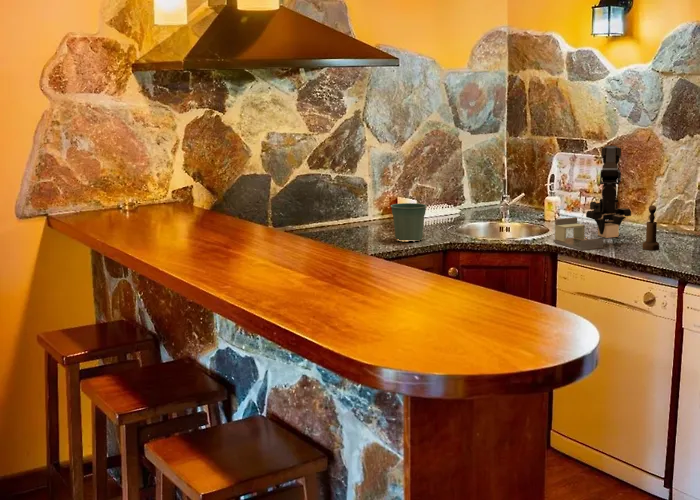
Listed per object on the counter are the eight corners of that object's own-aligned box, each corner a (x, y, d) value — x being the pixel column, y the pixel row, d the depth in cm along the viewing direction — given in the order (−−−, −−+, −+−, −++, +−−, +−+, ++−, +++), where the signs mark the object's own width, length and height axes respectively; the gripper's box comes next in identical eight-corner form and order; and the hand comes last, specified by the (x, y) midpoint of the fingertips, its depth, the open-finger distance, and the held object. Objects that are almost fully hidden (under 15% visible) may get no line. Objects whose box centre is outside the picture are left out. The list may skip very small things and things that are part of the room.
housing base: (575, 240, 359) (575, 230, 358) (603, 248, 340) (603, 237, 339) (553, 242, 356) (553, 232, 355) (580, 250, 337) (580, 240, 336)
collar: (609, 234, 350) (610, 222, 349) (618, 236, 344) (618, 224, 343) (597, 235, 348) (598, 223, 347) (606, 237, 342) (606, 226, 341)
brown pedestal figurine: (639, 247, 339) (641, 204, 336) (654, 246, 340) (656, 204, 336) (646, 250, 333) (648, 206, 329) (662, 250, 333) (664, 206, 330)
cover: (574, 237, 358) (575, 217, 356) (584, 239, 352) (584, 219, 350) (555, 239, 355) (555, 219, 353) (564, 241, 349) (564, 221, 347)
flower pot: (419, 236, 380) (418, 201, 377) (433, 242, 364) (432, 206, 361) (386, 239, 375) (385, 204, 372) (398, 245, 360) (397, 209, 357)
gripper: (616, 193, 353) (614, 228, 356) (578, 196, 347) (578, 232, 351) (632, 196, 343) (631, 232, 346) (594, 199, 337) (593, 236, 340)
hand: (608, 233), depth 346 cm, fingers closed on collar, 6 cm apart
